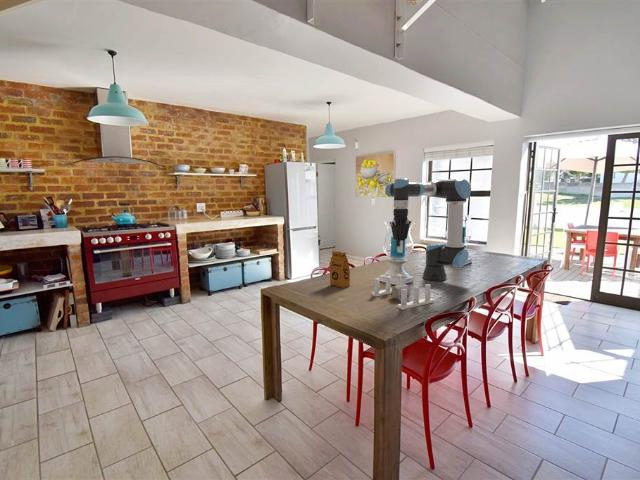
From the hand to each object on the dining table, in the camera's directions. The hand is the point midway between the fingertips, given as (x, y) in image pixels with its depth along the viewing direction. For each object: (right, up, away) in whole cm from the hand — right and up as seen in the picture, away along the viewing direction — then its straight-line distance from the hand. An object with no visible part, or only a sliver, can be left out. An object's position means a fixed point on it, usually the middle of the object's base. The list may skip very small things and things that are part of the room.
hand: (399, 252), depth 175 cm
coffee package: (-30, -23, +31) cm, 49 cm away
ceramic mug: (+2, -26, +4) cm, 27 cm away
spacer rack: (+2, -26, +5) cm, 26 cm away
